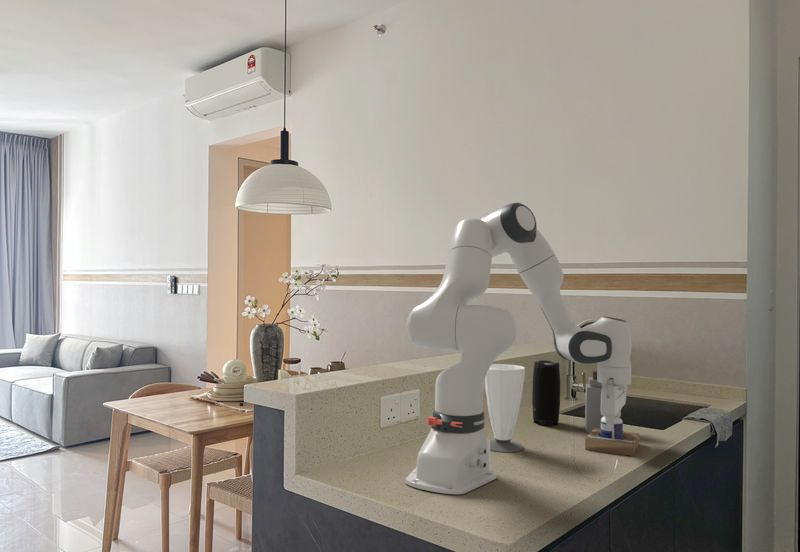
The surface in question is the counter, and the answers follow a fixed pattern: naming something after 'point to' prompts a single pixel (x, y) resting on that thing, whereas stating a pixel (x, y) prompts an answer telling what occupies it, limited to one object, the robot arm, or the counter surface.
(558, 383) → the portable speaker
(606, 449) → the jig
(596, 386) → the perfume bottle
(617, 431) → the pill bottle
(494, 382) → the cup
